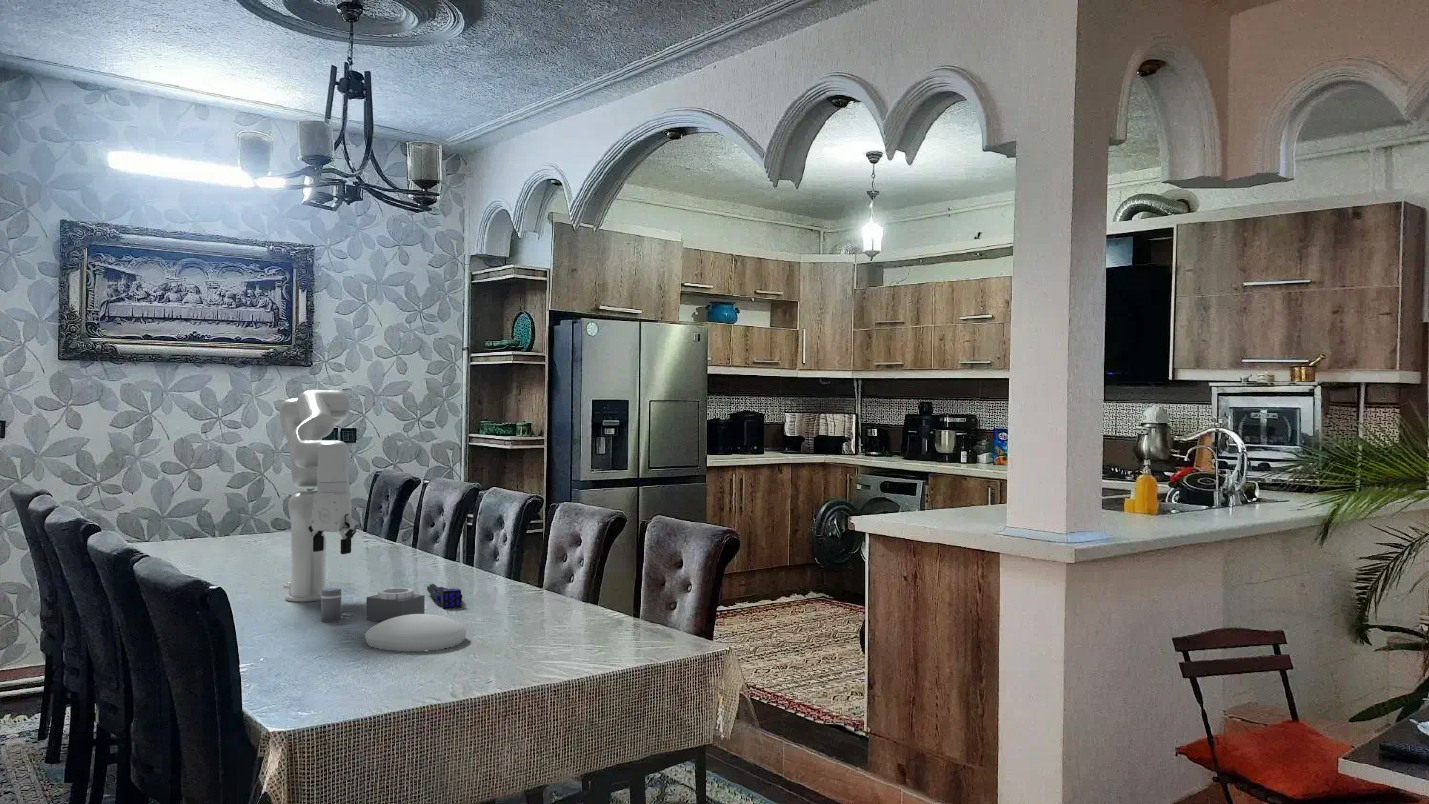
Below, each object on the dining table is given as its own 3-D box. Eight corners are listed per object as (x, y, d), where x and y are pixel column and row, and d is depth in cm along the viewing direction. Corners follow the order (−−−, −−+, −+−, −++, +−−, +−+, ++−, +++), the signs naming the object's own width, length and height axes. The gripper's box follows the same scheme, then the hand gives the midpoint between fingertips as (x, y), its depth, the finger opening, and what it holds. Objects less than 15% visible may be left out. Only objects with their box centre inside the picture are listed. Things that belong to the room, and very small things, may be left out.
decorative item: (434, 657, 234) (481, 638, 253) (434, 627, 234) (481, 610, 253) (350, 648, 242) (402, 630, 261) (350, 619, 242) (402, 603, 261)
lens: (316, 621, 270) (316, 590, 270) (331, 617, 274) (331, 587, 274) (331, 622, 268) (331, 592, 268) (345, 619, 272) (345, 588, 272)
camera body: (366, 619, 272) (366, 591, 272) (390, 613, 280) (390, 586, 280) (401, 624, 267) (401, 595, 267) (424, 617, 275) (424, 589, 275)
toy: (423, 598, 313) (439, 609, 286) (423, 581, 313) (439, 591, 286) (451, 596, 316) (469, 607, 289) (451, 580, 317) (469, 589, 289)
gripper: (297, 488, 271) (296, 552, 271) (346, 490, 264) (346, 556, 264) (318, 486, 278) (318, 548, 278) (367, 488, 271) (367, 552, 271)
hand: (332, 552), depth 271 cm, fingers open, 9 cm apart
